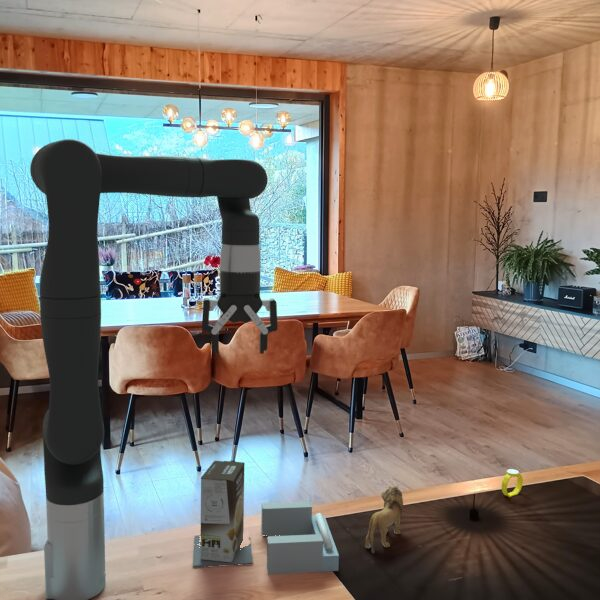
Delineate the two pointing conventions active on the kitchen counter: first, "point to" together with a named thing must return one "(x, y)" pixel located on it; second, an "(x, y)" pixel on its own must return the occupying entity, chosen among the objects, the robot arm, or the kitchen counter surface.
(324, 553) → the vise
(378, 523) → the lion figurine
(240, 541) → the coffee box
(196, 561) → the mat
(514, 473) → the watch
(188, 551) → the kitchen counter surface
